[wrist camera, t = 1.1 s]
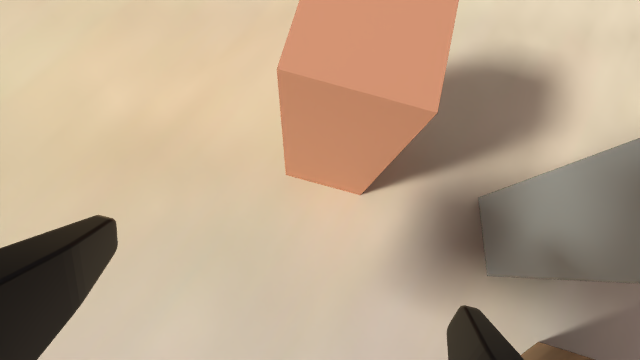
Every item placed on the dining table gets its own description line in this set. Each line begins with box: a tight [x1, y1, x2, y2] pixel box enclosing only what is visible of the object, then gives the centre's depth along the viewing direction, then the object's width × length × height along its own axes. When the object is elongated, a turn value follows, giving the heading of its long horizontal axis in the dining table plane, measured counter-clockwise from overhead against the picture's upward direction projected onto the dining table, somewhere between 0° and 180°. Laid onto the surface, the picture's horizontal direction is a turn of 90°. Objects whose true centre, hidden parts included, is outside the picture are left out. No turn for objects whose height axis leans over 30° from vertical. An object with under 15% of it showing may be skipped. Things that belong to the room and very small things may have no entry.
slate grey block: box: [478, 138, 640, 283], centre depth 17 cm, size 5×5×12 cm
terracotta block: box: [277, 0, 459, 195], centre depth 17 cm, size 5×5×12 cm
